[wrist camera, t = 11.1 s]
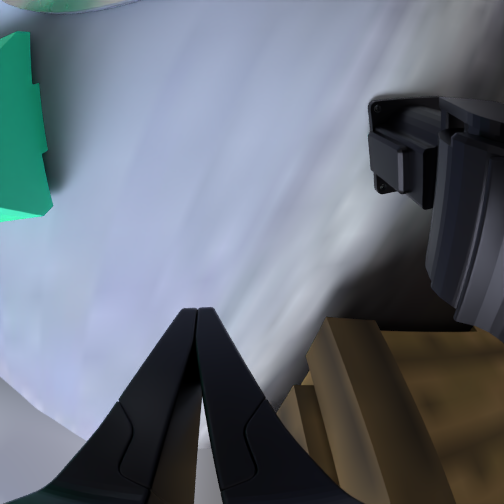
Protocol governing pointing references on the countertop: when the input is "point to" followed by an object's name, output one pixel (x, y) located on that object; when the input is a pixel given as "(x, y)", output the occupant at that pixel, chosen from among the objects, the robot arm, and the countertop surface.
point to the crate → (403, 413)
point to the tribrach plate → (67, 5)
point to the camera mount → (21, 134)
